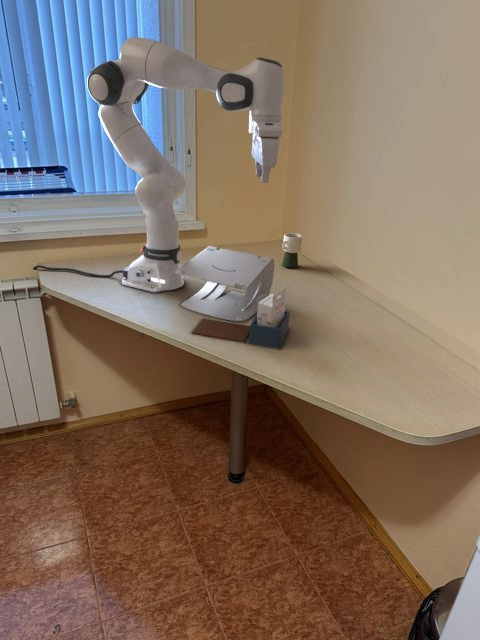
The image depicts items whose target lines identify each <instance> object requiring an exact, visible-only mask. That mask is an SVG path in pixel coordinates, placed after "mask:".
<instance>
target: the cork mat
mask: <svg viewBox="0 0 480 640" xmlns="http://www.w3.org/2000/svg"><path fill="white" fill-rule="evenodd" d="M191 334H192V335H199V336H204V337H210V338H214V339H215V338H216V339H222V340H227V341H232V342H233V341H234V342H239V343H246V342H245V341H246V340H247V338H248V337H249V334H250V325H248V324H247V325H246V324H240V323H233V322H228V321H222V320H215V319H209V318H205V317H204V318H201V320H200V321H199V322H198V324H197V325H196V326H195V328H194V329H193V330H192V331H191Z"/></svg>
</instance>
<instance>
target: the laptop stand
mask: <svg viewBox="0 0 480 640" xmlns="http://www.w3.org/2000/svg"><path fill="white" fill-rule="evenodd" d="M175 273H177V274H180V275H182V276H186V277H189V278H193V279H197V280H201V281H205V282H206V283H205V284H204V286H203V287H202V288H201V289H200V290H199V291H197V293H195V294H193V295H192V296H190V297H188V298H187V299H186V300H184V301H182V303H181V307H183V308H185V309H187V310H190V311H193V312H195V313H197V314H201V315H205V316H209V317H213V318H216V319H221V320H226V321H231V322H236V323H240V322H241V323H242V322H247V320H249V319H251V317H253V316H254V315H256V314H257V312H258V303H259V302H260V301H262V300H263V299H265V298H266V297H268V296H269V295H270V293H271V289H272V286H273V281H274V274H275V259H274V258H271V257H267V256H261V255H257V254H252V253H247V252H243V251H239V250H233V249H229V248H224V247H222V248H221V247H218V246H214V245H208V246H207V247H206V248H204V249H203V250H202V251H200V252H199V253H197V255H195V256H194V257H192V258H191V259H190V260H188V261H187V262H186V263H184V264H183V265H182V266H180V268H179V269H177V270H176V271H175ZM228 287H230V288H234V289H237V290H242V291H243V290H244V291H245V290H246V291H245V293H244V292H239V291H236V290H229V291H228V292H226V293H225V294H224V292H225V291H226V289H227V288H228ZM222 294H223V295H222Z"/></svg>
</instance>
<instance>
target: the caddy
mask: <svg viewBox="0 0 480 640" xmlns="http://www.w3.org/2000/svg"><path fill="white" fill-rule="evenodd" d="M257 313H258V312H257ZM257 313H255V316H254V317H253V319H252V321H251V322H250V324H249V326H250V333H249V334H248V338H249V339H248V344H249V345H250V344H251V345H256V346H262V347H267V348H273V349H278V350H279V349H281V347H282V344H283V342H284V340H285V337H286V335H287V333H288V330H289V324H290V316H291V310H285V313H284V320H283V322H282V324H281V326H280V328H274V327H268V326H262V325H257Z"/></svg>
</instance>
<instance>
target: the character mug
mask: <svg viewBox="0 0 480 640" xmlns="http://www.w3.org/2000/svg"><path fill="white" fill-rule="evenodd" d="M302 243H303V235H302V234H300V233H296V232H286V233H284V235H283V241H282V244H281V245H282V246H281V249H282V250H283V251H284V252H285V253H284V255H283V259H282V266H283V267H286V268H297V267H298V266H299V258H298V257H299V255H298V253H300V252H301V249H302Z"/></svg>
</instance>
